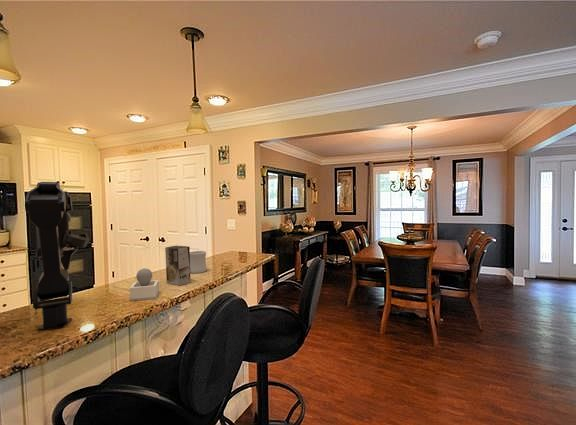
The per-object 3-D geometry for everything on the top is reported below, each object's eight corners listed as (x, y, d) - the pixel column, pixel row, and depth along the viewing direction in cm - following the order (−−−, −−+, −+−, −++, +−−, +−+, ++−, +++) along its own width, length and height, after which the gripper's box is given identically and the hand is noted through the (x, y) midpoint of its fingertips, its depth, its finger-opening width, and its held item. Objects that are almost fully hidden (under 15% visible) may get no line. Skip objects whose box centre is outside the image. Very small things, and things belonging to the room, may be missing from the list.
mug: (202, 268, 160) (201, 250, 160) (209, 271, 153) (209, 252, 153) (179, 272, 152) (178, 253, 152) (185, 275, 145) (185, 255, 145)
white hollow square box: (156, 298, 112) (155, 285, 112) (130, 301, 110) (129, 288, 109) (159, 291, 120) (158, 279, 120) (135, 293, 118) (134, 281, 118)
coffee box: (191, 282, 134) (190, 246, 133) (179, 286, 128) (178, 248, 128) (178, 279, 139) (177, 244, 138) (165, 283, 133) (164, 246, 132)
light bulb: (146, 297, 111) (146, 270, 111) (133, 296, 112) (133, 269, 112) (155, 292, 117) (155, 267, 116) (143, 291, 118) (142, 266, 117)
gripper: (74, 229, 97) (77, 277, 98) (94, 224, 115) (96, 265, 116) (33, 230, 94) (36, 280, 95) (60, 226, 112) (62, 267, 112)
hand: (60, 272), depth 104 cm, fingers open, 9 cm apart
